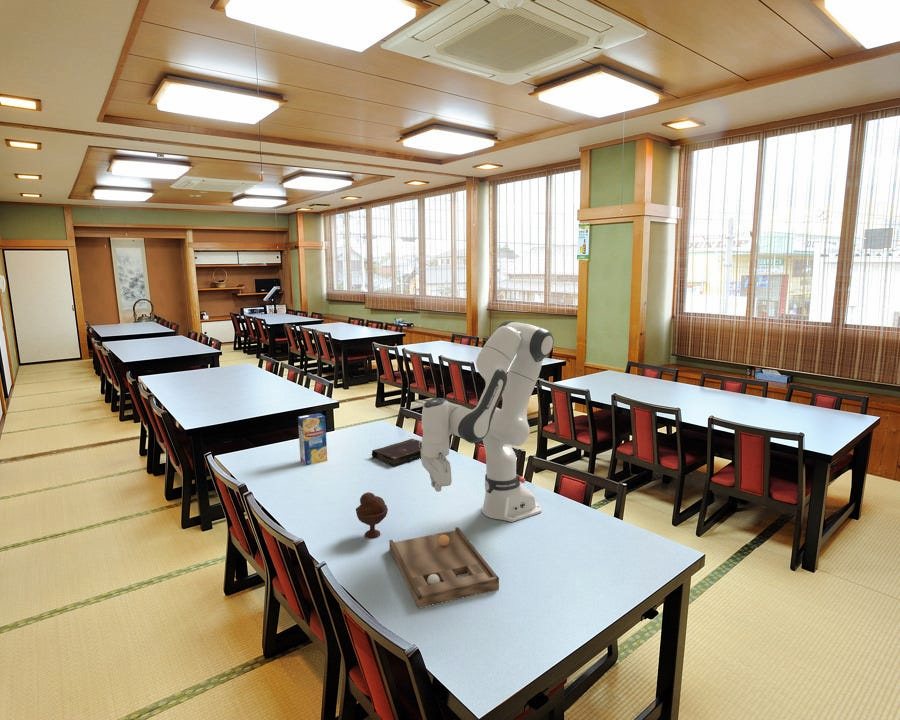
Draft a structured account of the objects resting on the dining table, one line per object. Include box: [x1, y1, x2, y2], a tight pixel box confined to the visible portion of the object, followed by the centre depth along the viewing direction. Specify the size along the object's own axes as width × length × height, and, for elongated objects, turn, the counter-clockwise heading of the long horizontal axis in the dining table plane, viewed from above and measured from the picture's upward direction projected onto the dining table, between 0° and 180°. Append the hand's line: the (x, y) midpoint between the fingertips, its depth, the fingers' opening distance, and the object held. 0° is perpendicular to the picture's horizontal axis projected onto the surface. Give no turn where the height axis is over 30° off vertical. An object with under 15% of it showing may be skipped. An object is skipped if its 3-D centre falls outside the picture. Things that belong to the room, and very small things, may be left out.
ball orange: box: [438, 535, 450, 546], centre depth 169 cm, size 4×4×4 cm
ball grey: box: [427, 574, 440, 585], centre depth 152 cm, size 4×4×4 cm
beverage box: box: [297, 412, 328, 466], centre depth 250 cm, size 7×11×22 cm, turn 125°
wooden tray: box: [388, 526, 500, 609], centre depth 161 cm, size 24×32×4 cm
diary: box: [371, 438, 421, 468], centre depth 258 cm, size 19×25×5 cm
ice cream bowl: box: [355, 492, 389, 540], centre depth 180 cm, size 11×11×15 cm
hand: (436, 488), depth 173 cm, fingers open, 2 cm apart
